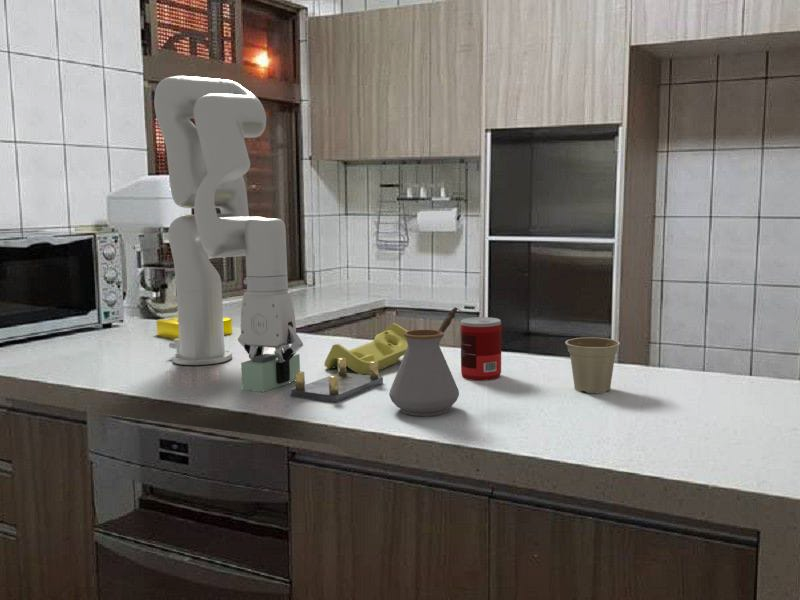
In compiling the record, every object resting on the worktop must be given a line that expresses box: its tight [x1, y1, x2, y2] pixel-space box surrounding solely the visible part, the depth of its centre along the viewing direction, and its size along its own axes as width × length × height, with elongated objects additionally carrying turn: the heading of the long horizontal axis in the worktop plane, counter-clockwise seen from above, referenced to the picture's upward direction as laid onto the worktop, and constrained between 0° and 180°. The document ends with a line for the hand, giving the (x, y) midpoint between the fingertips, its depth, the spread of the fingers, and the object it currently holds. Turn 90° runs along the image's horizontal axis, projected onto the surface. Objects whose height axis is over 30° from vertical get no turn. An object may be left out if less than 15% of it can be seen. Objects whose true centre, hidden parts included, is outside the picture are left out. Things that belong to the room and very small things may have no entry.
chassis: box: [290, 358, 384, 404], centre depth 144 cm, size 10×16×4 cm, turn 150°
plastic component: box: [323, 323, 408, 375], centre depth 165 cm, size 20×7×10 cm
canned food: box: [460, 316, 502, 382], centre depth 152 cm, size 8×8×11 cm
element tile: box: [156, 316, 233, 340], centre depth 206 cm, size 15×15×5 cm
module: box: [240, 349, 301, 393], centre depth 149 cm, size 5×11×6 cm, turn 150°
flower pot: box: [564, 336, 621, 394], centre depth 140 cm, size 9×9×9 cm
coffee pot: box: [389, 306, 463, 417], centre depth 133 cm, size 21×12×15 cm, turn 155°
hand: (271, 379), depth 149 cm, fingers closed on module, 5 cm apart
